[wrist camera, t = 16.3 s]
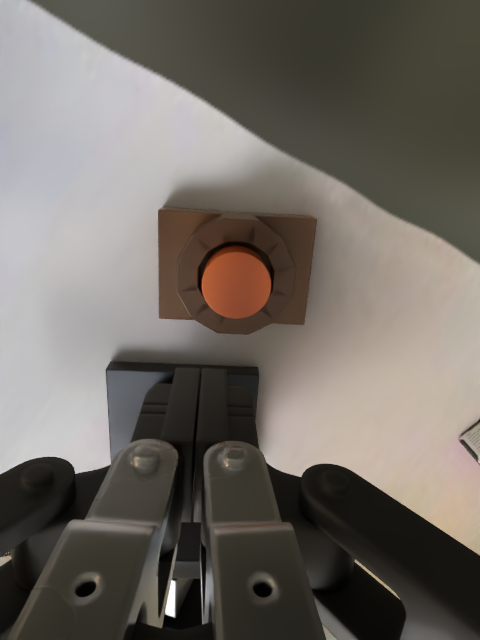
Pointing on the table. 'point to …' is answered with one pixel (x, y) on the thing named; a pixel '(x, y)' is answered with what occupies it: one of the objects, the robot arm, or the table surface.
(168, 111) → the table surface
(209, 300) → the button
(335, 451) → the table surface
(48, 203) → the table surface
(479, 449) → the candy bar box
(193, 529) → the bracket
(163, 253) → the button block
